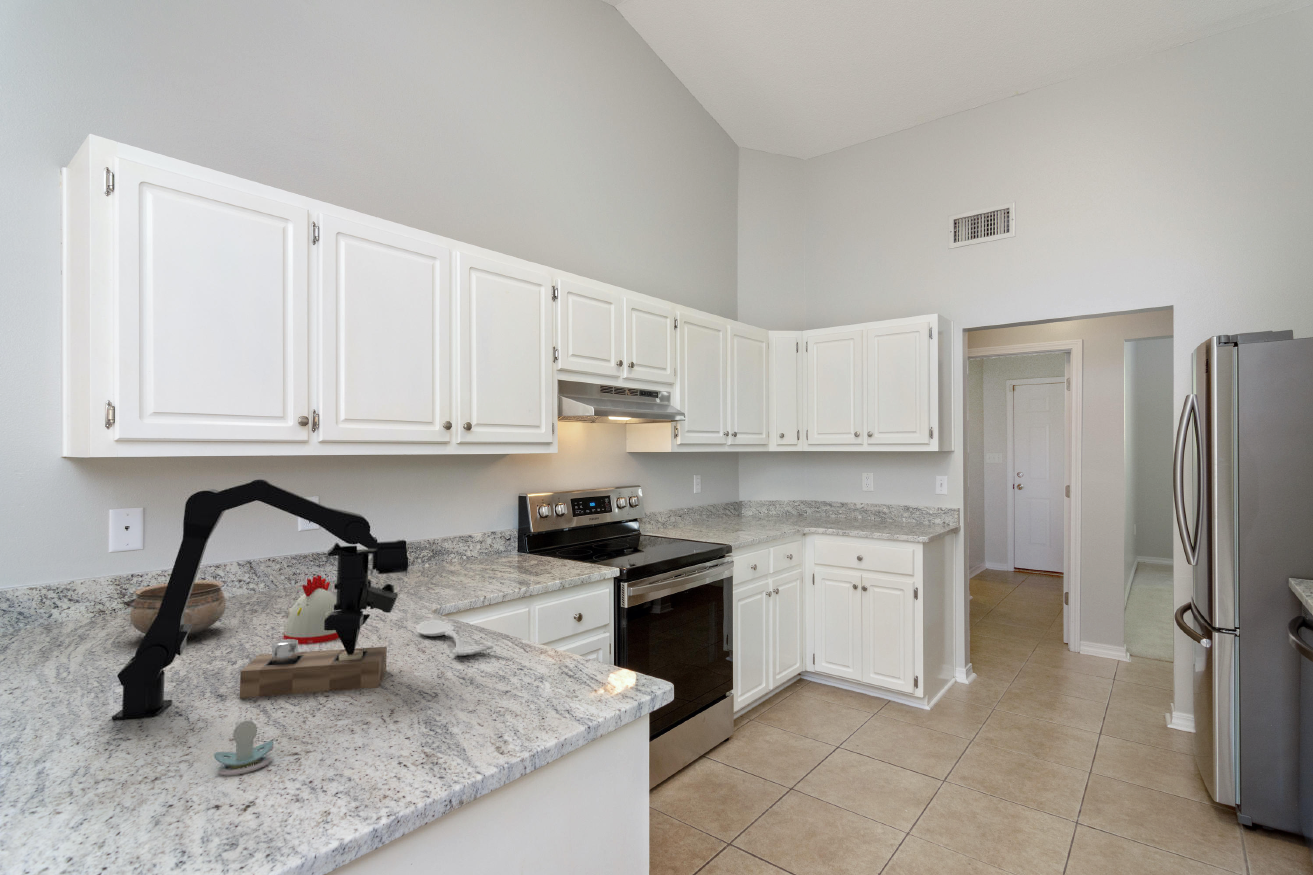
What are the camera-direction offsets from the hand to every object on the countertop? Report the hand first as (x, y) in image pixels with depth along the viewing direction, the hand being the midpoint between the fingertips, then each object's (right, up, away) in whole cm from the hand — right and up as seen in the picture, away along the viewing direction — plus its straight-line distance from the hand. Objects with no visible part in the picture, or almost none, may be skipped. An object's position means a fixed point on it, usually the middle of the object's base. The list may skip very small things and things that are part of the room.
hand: (350, 653), depth 127 cm
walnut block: (-6, -5, -2) cm, 8 cm away
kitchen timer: (-24, -6, +31) cm, 39 cm away
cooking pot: (-56, -6, +28) cm, 63 cm away
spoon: (+12, -7, +25) cm, 29 cm away
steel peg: (-12, -2, -3) cm, 12 cm away
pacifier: (+1, -5, -35) cm, 35 cm away
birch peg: (0, -5, 0) cm, 5 cm away
